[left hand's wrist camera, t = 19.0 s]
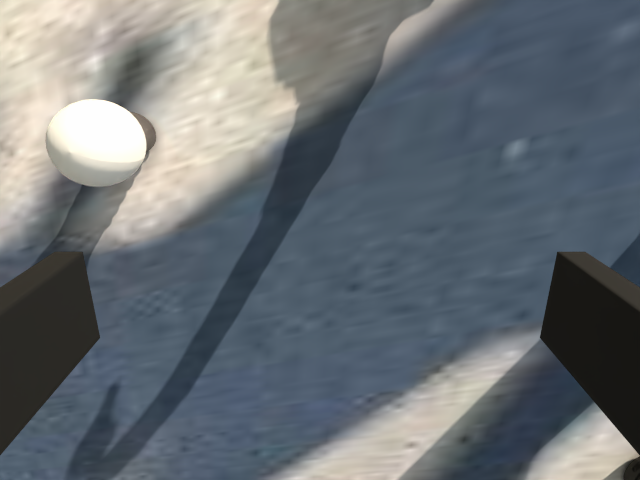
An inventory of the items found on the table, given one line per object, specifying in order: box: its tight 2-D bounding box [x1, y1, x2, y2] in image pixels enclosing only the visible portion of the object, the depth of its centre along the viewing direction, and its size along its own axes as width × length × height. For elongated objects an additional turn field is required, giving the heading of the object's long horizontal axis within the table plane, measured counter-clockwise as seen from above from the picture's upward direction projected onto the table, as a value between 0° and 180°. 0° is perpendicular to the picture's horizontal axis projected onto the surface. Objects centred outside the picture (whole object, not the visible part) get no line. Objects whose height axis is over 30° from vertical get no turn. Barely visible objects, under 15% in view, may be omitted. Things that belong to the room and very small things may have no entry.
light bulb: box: [46, 99, 156, 187], centre depth 36 cm, size 7×7×11 cm
